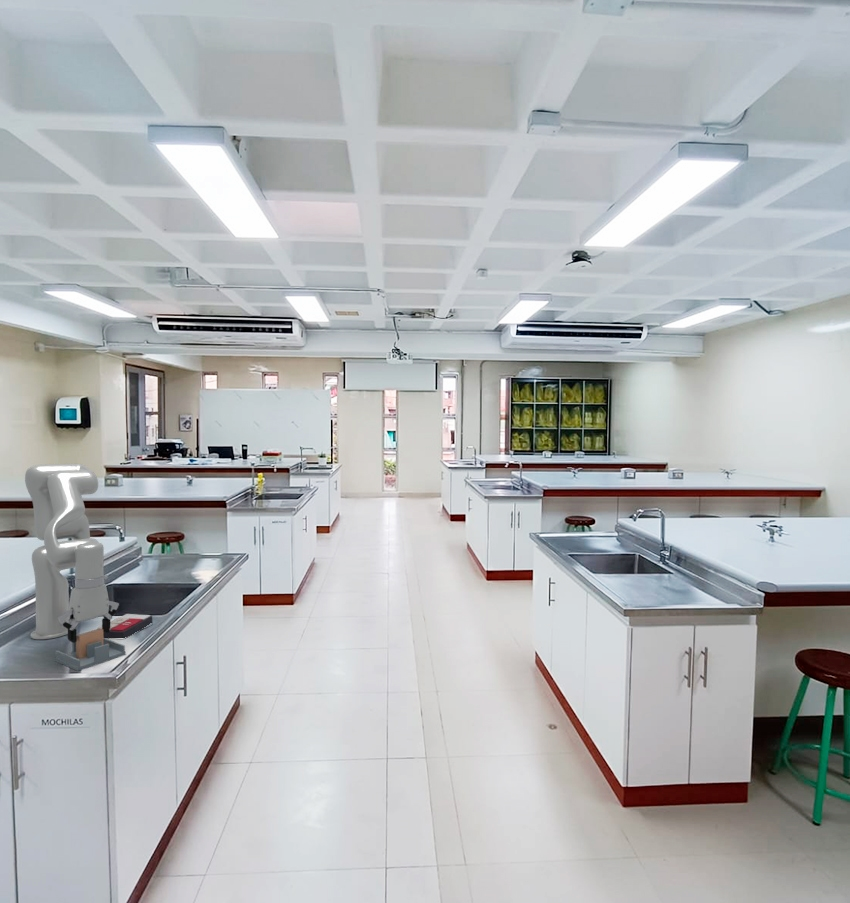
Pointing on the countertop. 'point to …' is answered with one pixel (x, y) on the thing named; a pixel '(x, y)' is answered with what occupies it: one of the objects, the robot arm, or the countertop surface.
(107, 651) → the rack
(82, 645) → the tile
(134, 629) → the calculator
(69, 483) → the robot arm
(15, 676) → the countertop surface
